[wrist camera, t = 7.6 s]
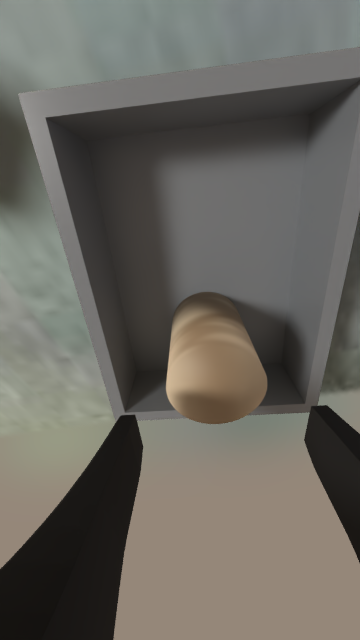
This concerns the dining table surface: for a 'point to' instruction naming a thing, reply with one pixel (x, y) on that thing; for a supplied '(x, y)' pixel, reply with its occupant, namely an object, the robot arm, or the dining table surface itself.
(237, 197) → the tote
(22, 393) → the dining table surface
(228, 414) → the wooden cylinder
